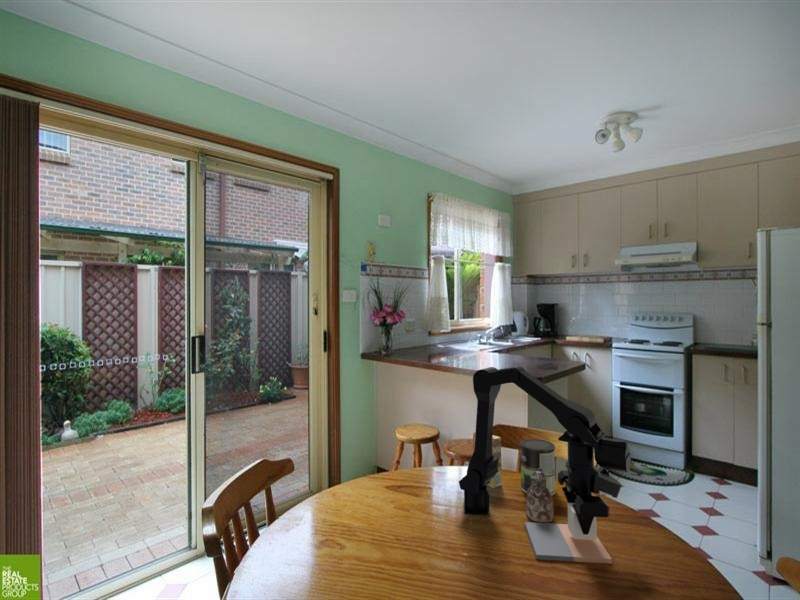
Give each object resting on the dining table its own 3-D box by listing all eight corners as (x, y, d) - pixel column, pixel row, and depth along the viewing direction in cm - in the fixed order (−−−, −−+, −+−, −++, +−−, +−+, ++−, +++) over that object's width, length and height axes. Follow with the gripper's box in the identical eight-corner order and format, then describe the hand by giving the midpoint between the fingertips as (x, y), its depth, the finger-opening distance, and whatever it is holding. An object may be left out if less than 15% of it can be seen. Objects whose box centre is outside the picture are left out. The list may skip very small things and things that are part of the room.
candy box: (502, 485, 129) (501, 437, 129) (493, 489, 127) (492, 439, 127) (482, 476, 136) (481, 430, 137) (473, 479, 134) (472, 432, 134)
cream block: (574, 539, 94) (573, 512, 95) (567, 527, 99) (567, 502, 100) (596, 540, 94) (596, 514, 94) (589, 528, 99) (588, 503, 99)
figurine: (522, 517, 109) (521, 472, 110) (530, 506, 115) (529, 463, 115) (549, 525, 105) (548, 478, 106) (556, 513, 111) (555, 469, 111)
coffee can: (522, 495, 122) (521, 448, 122) (519, 481, 132) (518, 437, 132) (558, 498, 120) (557, 450, 120) (552, 484, 130) (552, 439, 130)
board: (536, 559, 91) (536, 554, 91) (524, 526, 105) (524, 522, 105) (611, 563, 89) (611, 559, 89) (589, 529, 103) (589, 525, 103)
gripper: (634, 479, 87) (635, 553, 86) (601, 449, 105) (602, 510, 105) (579, 477, 88) (581, 550, 88) (556, 448, 107) (557, 508, 106)
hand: (581, 528), depth 97 cm, fingers closed on cream block, 5 cm apart
